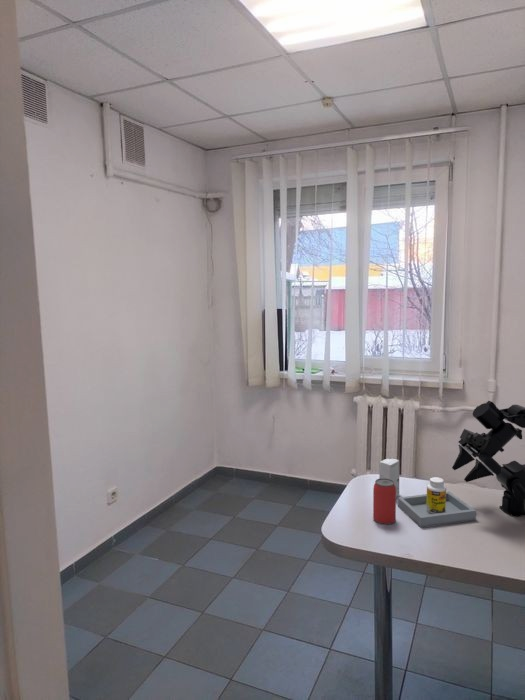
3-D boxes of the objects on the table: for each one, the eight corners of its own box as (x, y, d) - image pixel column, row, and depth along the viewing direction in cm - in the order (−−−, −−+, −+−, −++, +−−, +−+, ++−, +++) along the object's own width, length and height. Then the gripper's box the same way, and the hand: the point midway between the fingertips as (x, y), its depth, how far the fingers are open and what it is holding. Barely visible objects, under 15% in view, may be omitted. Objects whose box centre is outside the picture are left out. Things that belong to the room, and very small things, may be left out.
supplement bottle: (429, 515, 147) (429, 483, 145) (424, 507, 152) (424, 475, 151) (448, 515, 146) (448, 483, 145) (442, 507, 152) (443, 476, 151)
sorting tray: (448, 500, 158) (448, 491, 158) (475, 520, 144) (476, 510, 144) (397, 506, 154) (397, 497, 154) (420, 527, 141) (420, 517, 140)
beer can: (399, 519, 146) (400, 481, 145) (388, 527, 141) (389, 488, 140) (380, 512, 151) (380, 475, 149) (369, 520, 146) (369, 482, 144)
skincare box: (390, 500, 159) (390, 465, 157) (378, 496, 162) (378, 461, 160) (400, 494, 163) (400, 460, 161) (388, 491, 166) (388, 457, 165)
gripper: (465, 412, 155) (430, 447, 156) (492, 430, 136) (452, 469, 138) (489, 436, 156) (454, 469, 157) (519, 456, 137) (479, 494, 139)
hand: (459, 474), depth 148 cm, fingers open, 9 cm apart
